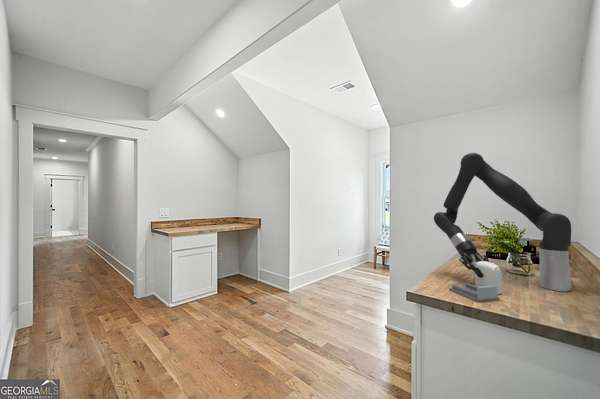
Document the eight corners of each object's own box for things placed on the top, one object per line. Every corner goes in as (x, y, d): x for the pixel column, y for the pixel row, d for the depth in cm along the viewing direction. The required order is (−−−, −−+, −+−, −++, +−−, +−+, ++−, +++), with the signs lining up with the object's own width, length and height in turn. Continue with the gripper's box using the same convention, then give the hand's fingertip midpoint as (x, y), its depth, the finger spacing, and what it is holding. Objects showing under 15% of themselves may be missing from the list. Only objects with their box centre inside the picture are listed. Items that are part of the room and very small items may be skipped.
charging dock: (468, 288, 112) (468, 276, 112) (499, 300, 98) (498, 286, 98) (449, 290, 110) (449, 277, 110) (477, 302, 96) (477, 288, 96)
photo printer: (473, 287, 114) (472, 259, 114) (481, 286, 115) (480, 259, 115) (495, 295, 104) (495, 265, 104) (503, 294, 105) (503, 264, 105)
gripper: (454, 240, 118) (478, 273, 106) (480, 239, 121) (505, 271, 109) (446, 249, 123) (467, 282, 111) (470, 248, 126) (494, 279, 114)
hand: (486, 276), depth 110 cm, fingers closed on photo printer, 4 cm apart
